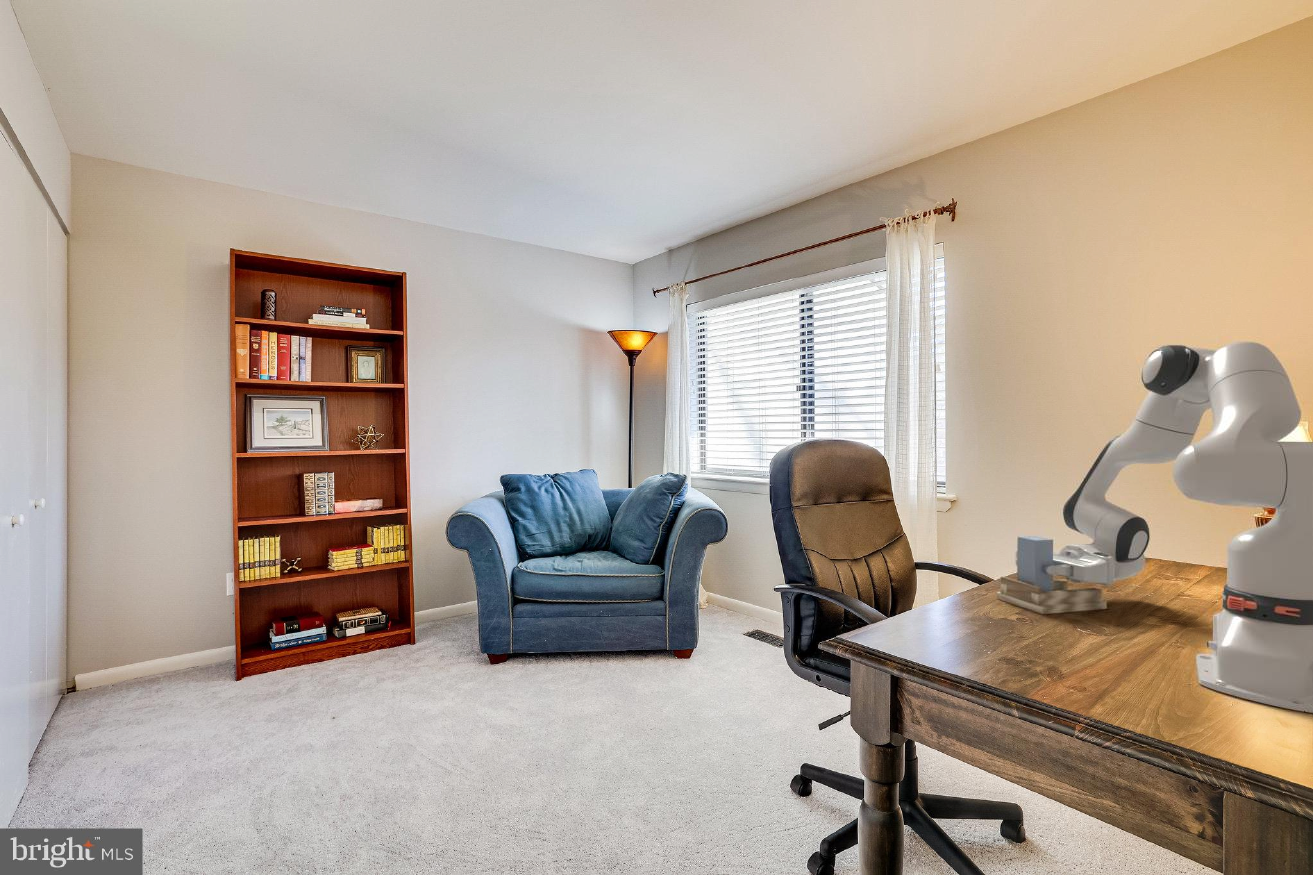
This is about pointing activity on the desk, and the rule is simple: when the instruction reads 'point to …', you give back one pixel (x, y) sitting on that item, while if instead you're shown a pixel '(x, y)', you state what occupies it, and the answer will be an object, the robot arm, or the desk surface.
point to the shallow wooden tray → (1050, 597)
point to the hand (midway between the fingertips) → (1031, 566)
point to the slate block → (1035, 561)
